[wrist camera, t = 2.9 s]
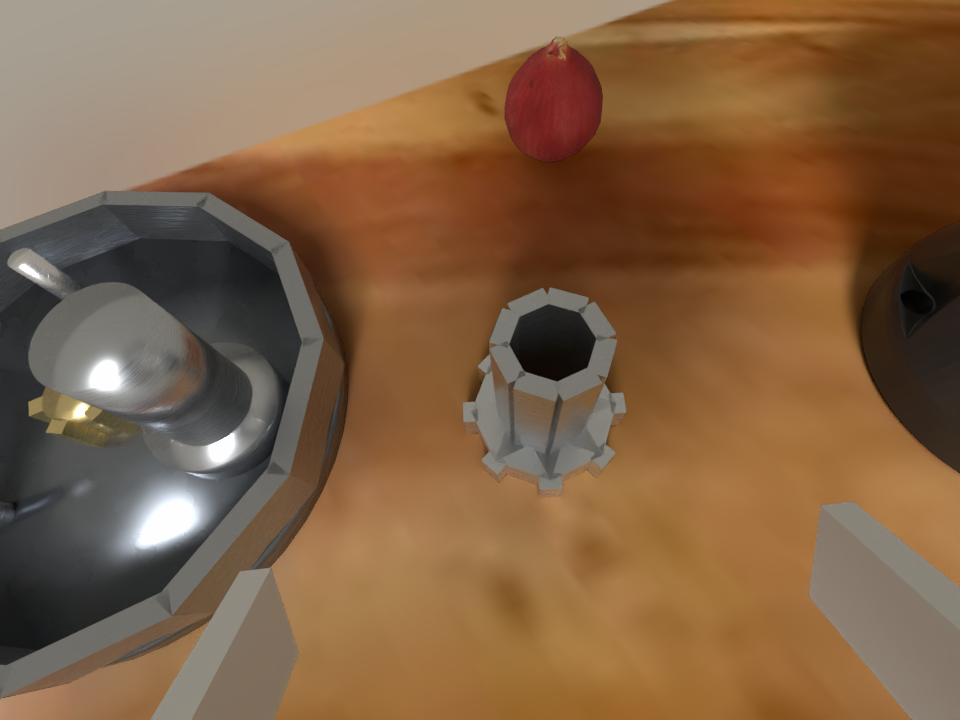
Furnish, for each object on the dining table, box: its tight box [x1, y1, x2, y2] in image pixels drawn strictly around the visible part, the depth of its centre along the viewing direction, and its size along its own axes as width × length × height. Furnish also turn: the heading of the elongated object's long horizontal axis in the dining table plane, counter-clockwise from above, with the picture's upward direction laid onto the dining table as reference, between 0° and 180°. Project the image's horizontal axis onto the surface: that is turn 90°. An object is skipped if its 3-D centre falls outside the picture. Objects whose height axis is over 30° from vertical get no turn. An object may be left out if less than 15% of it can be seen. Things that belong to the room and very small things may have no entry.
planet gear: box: [463, 287, 627, 497], centre depth 21 cm, size 8×8×9 cm
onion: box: [505, 37, 603, 162], centre depth 29 cm, size 6×6×8 cm
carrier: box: [0, 191, 348, 698], centre depth 22 cm, size 24×24×10 cm
